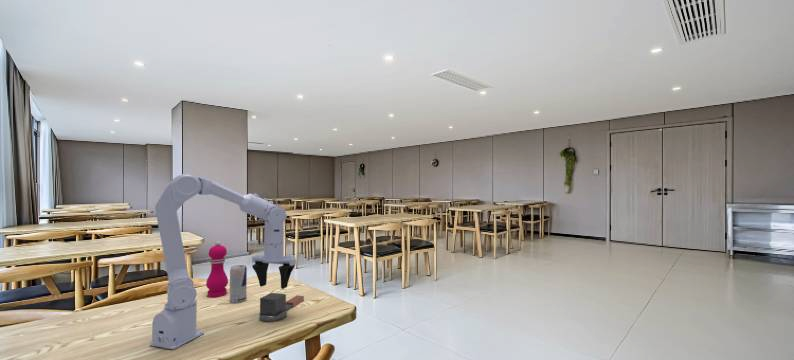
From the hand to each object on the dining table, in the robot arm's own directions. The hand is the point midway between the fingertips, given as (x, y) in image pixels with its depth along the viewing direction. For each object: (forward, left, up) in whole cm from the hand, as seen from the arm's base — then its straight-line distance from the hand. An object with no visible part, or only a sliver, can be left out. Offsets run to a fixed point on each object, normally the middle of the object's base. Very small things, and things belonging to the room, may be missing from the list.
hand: (273, 286), depth 102 cm
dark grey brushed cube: (0, 0, -8) cm, 8 cm away
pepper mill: (+12, +33, -10) cm, 36 cm away
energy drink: (+9, +21, -10) cm, 25 cm away
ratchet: (+6, 0, -9) cm, 11 cm away
